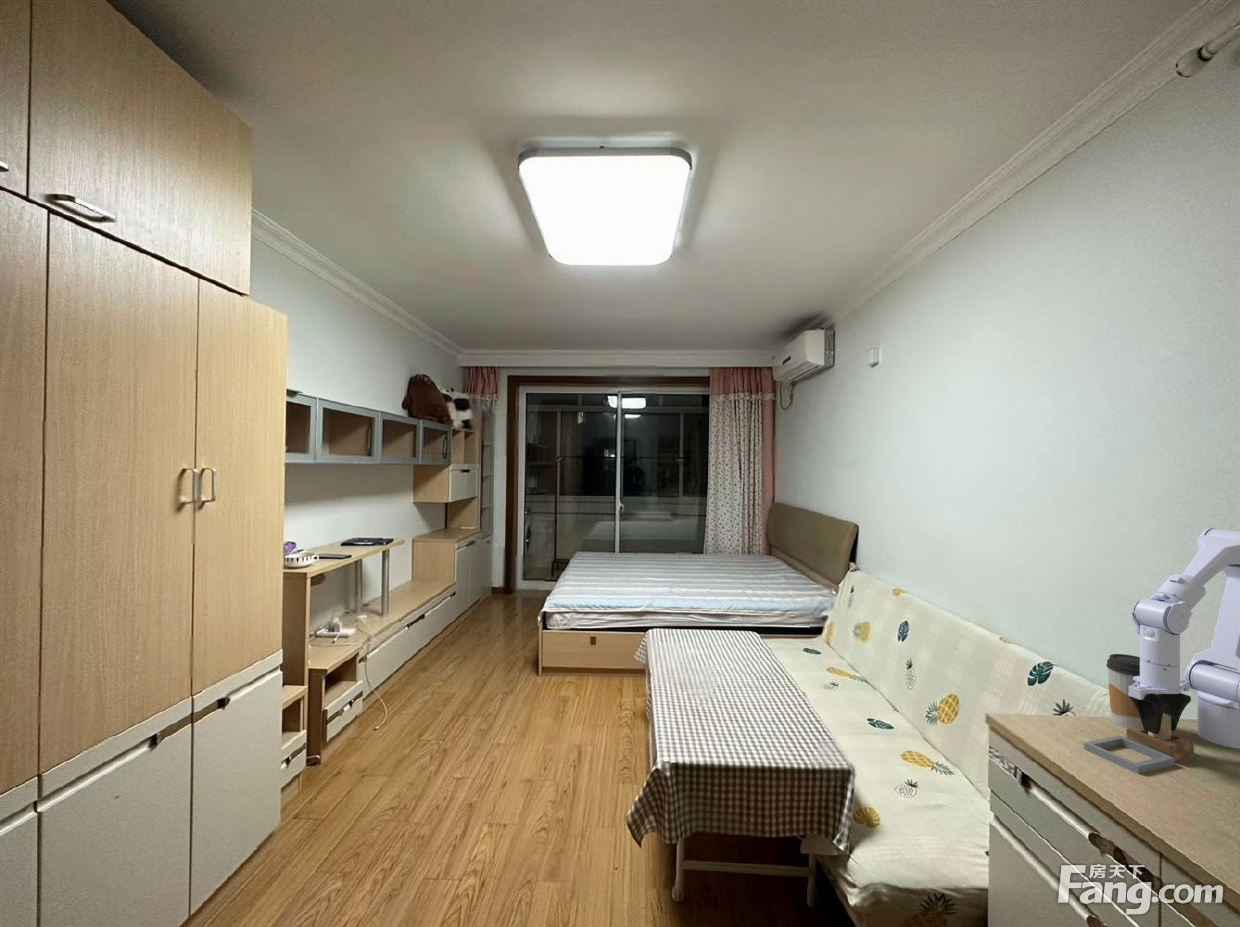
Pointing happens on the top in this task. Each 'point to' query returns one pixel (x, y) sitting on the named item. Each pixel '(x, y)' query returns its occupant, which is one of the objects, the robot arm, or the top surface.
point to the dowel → (1164, 729)
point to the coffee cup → (1123, 689)
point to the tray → (1139, 767)
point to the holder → (1163, 743)
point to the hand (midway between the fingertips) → (1159, 730)
